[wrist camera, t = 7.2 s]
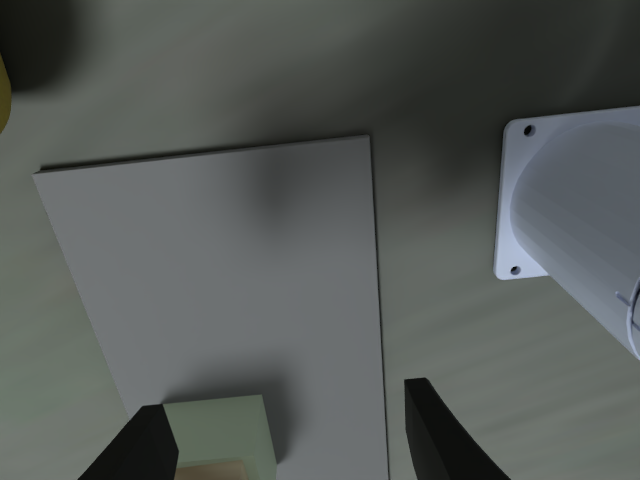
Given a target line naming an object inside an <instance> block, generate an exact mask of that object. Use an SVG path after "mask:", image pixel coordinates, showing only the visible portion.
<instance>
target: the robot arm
mask: <svg viewBox="0 0 640 480" xmlns="http://www.w3.org/2000/svg"><path fill="white" fill-rule="evenodd" d="M528 125H531V127H532V129H531V132H530V133H529V134H528V135H524V129H525V128H526V127H527V126H528ZM515 266H518V267H517V269H516V270H515V271H512V272H511V269H512V268H513V267H515ZM493 272H494V274H495V275H496V276H497V278H499V279H501V280H508V279H517V278H527V277H537V276H546V275H550V276H551V277H552V278H553V279H554V280H555V281H556V282H557V283H559V284H560V285H561V286H562V287H563V288H564V289H565V290H566V291H567V292H568V293H569V294H570V295H571V296H572V297H573V298H574V299H575V300H576V301H577V302H578V303H580V304H581V305H582V306H583V307H584V308H585V309H586V310H587V311H588V312H589V313H590V314H591V315H592V316H593V317H594V318H595V319H596V320H597V321H598V322H599V323H600V324H602V325H603V326H604V327H605V328H606V329H607V330H608V331H609V332H610V333H611V334H612V335H613V336H614V337H615V338H616V339H617V340H618V341H619V342H620V343H621V344H623V345H624V346H625V347H626V348H627V349H628V350H629V351H630V352H631V353H632V354H633V355H634V356H635V357H636V358H637V359H638V360H639V361H640V106H632V107H623V108H614V109H605V110H596V111H587V112H578V113H569V114H559V115H550V116H541V117H532V118H523V119H515V120H512V121H510V122H509V123H508V124H507V125H506V127H505V129H504V133H503V146H502V160H501V173H500V186H499V199H498V212H497V225H496V239H495V252H494V265H493ZM404 385H405V422H406V433H407V438H408V443H409V448H410V453H411V457H412V462H413V466H414V469H415V472H416V476H417V479H418V480H511V479H510V478H509V477H508V476H507V475H506V474H505V473H504V472H503V471H502V470H501V469H500V468H499V467H498V466H497V465H496V464H495V463H494V462H493V461H492V460H491V458H490V457H489V456H488V455H487V454H486V453H485V452H484V451H483V450H482V449H481V448H480V446H479V445H478V444H477V443H476V442H475V441H474V440H473V438H472V437H471V436H470V435H469V434H468V432H467V431H466V430H465V429H464V428H463V426H462V425H461V424H460V423H459V422H458V420H457V419H456V418H455V416H454V415H453V414H452V413H451V411H450V410H449V409H448V407H447V406H446V405H445V403H444V402H443V401H442V399H441V398H440V396H439V395H438V394H437V392H436V391H435V389H434V388H433V386H432V385H431V383H430V381H429V380H428V379H426V378H415V379H405V380H404ZM178 456H179V449H178V447H177V444H176V441H175V438H174V435H173V432H172V429H171V427H170V424H169V421H168V418H167V415H166V412H165V409H164V406H163V404H155V405H145V406H142V407H141V408H140V409H139V410H138V411H137V412H136V414H135V415H134V416H133V417H132V418H131V419H130V421H129V422H128V423H127V424H126V425H125V426H124V428H123V429H122V430H121V431H120V432H119V433H118V435H117V436H116V437H115V438H114V439H113V440H112V441H111V443H110V444H109V445H108V446H107V447H106V448H105V450H104V451H103V452H102V453H101V454H100V455H99V456H98V457H97V459H96V460H95V461H94V462H93V463H92V464H91V465H90V466H89V468H88V469H87V470H86V471H85V472H84V473H83V474H82V475H81V476H80V477H79V478H78V479H77V480H174V477H175V473H176V467H177V462H178Z"/></svg>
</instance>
